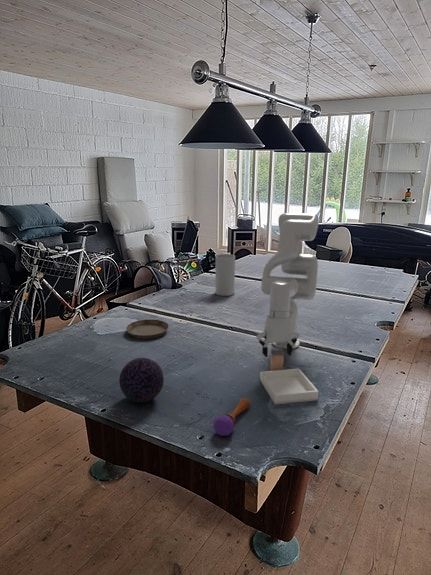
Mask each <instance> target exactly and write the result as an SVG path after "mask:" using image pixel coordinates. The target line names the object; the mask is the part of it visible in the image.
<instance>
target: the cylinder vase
mask: <svg viewBox="0 0 431 575" xmlns="http://www.w3.org/2000/svg"><path fill="white" fill-rule="evenodd" d="M235 280H236V255H234V254H230V253H221V254H216V255H215V282H214V283H215V287H214V288H215V292H214V293H215V294H216V295H217V296H223V297H226V296H227V297H228V296H229V297H230V296H233V295H234V294H235V291H236V290H235V288H236V286H235V284H236V282H235Z"/></svg>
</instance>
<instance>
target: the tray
mask: <svg viewBox="0 0 431 575" xmlns="http://www.w3.org/2000/svg"><path fill="white" fill-rule="evenodd" d="M259 381H260V383H261V384H262V386H263V388H264V389H265V391H266V392H267V395H269V397H270V399H271V401H272V402H273V404H274V405H275V406H276V405H286V404H296V403H304V402H315V401H316V402H317V401H318V400H319V390H318V388H316V387H315V385H314V384H313V383H312V382H311V381H310V380H309V378H308V377H307V376H306V375H305V374H304V372H303V371H302V370H301V369H300V367H299V368H289V369H283V370H275V371H270V370H265V371H264V370H263V371H260V372H259Z"/></svg>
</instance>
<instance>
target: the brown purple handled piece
mask: <svg viewBox="0 0 431 575" xmlns="http://www.w3.org/2000/svg"><path fill="white" fill-rule="evenodd" d="M250 406H251V402H250V399H248V398H246V397H243V398H241V400H240V402H239V403H238V405H237V406H236V407H235V409H234V410H233V412H232V414H231V413H226V414H223V415H219V416H218V417H216V418H215V420H214V423H213V429H214V432H216V434H217V435H219V436H221V437H224V436H225V437H226V436H229V435H231V433H233V431H234V425H235V422H236V421H235V420H236V419H235V418H236V417H237V416H238V415H239V414H241V413H242V412H243V411H245V410H247V409H248V408H249V407H250Z"/></svg>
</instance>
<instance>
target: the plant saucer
mask: <svg viewBox="0 0 431 575" xmlns="http://www.w3.org/2000/svg"><path fill="white" fill-rule="evenodd" d="M169 327H170V326H169V323H167V322H166V321H164V320H161V319H160V320H159V319H151V318H149V319H141V320H137V321H133V322H131V323H130V324H127V325H126V328H125V329H126V331H127V333H128V334H129V335H131V336H132V337H133V338H136V339H140V338H142V340H143V339H145V340H146V339H147V340H148V339H150V338H151V339H156V338H158V337H162V336H163V335H164V334H166V332H168V330H169V329H170V328H169ZM135 329H136V330H135ZM132 330H135V331H136V332H138V333H137V334H133V333H136V332H132ZM131 332H132V333H131ZM138 334H140V335H138ZM151 339H150V340H151Z"/></svg>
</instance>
